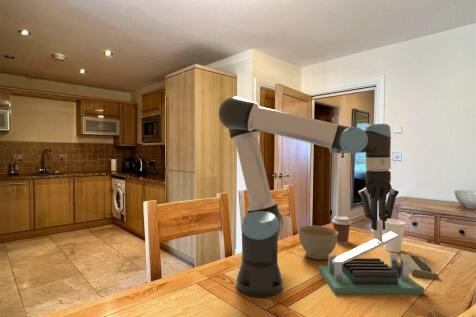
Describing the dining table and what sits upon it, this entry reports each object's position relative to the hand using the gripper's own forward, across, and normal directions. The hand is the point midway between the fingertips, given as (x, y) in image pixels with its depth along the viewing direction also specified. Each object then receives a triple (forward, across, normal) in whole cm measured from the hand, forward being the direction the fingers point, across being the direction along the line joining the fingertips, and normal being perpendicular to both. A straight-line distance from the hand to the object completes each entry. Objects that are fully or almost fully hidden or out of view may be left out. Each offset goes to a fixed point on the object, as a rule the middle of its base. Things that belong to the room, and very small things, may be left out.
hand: (378, 239), depth 92 cm
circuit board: (+15, -4, 0) cm, 15 cm away
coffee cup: (+15, +3, +41) cm, 44 cm away
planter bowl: (+15, -14, +23) cm, 31 cm away
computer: (+16, +21, +11) cm, 28 cm away
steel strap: (+4, -5, 0) cm, 6 cm away
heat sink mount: (+15, -4, 0) cm, 15 cm away
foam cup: (+15, +22, +30) cm, 40 cm away
